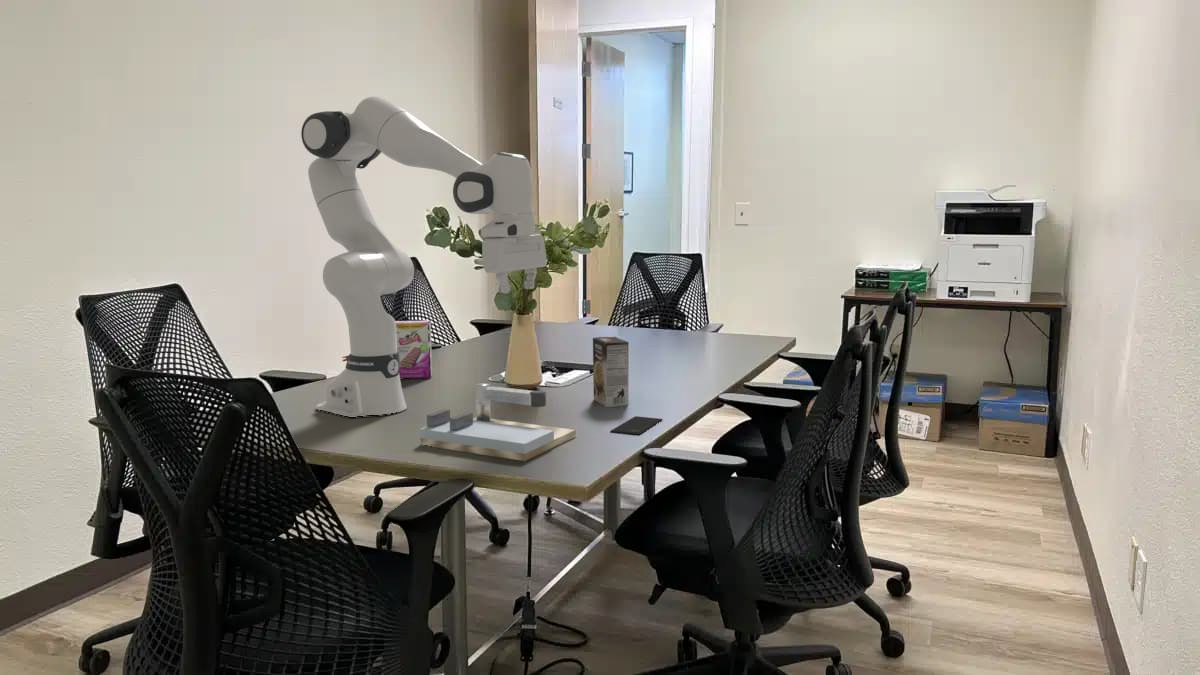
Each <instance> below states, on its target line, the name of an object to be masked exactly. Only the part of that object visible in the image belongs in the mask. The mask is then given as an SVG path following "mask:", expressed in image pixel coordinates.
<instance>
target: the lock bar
mask: <svg viewBox="0 0 1200 675" xmlns="http://www.w3.org/2000/svg"><path fill="white" fill-rule="evenodd" d="M490 385H491V384H490V383H488V382H487V383H483V382H482V383H477V384H475V385H474V387H475V388H474V390H475V391H474V392H475V393H474V394H475V418H476V420H477V421H485V422H489V421H491V419H492V418H491V417H492V416H491V402H499V403H507V404H508V403H509V404H514V405H521V406H522V405H524V406H530V407H532V408H542V407H545V406H547V398H546V397H547V396H546V394H547V392H546V391H545V390H529V389H521V388H520V389H519V388H513V387H512V388H511V387H510V388H509V387H502V386H490Z"/></svg>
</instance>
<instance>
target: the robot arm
mask: <svg viewBox="0 0 1200 675" xmlns="http://www.w3.org/2000/svg"><path fill="white" fill-rule="evenodd" d="M300 134H301V136H300V137H301V141H302V144H303V146H304V148H305V149H306V151H308V152H309V153H310V154H311V155H313V156H315V157H317V158H315V159H314V160H313V161H312V162H311V163H310V165H309V166H308V170H307V173H308V174H307V175H308V180H309V184H310V188H311V191H312V195H313V199H314V201H315V204H316V207H317V209H318V212H319V214H320V216H321V220H322V222H323V224H324V226H325V229H326V231H327V234H328V235H329V237H330V238H331V239H332V240H333V241H335V242H336V243H338V244H339V245H341V246H342V247H343V248H345V250H347V252H344V253H341V254H338V255H335V256H334V257H331V258H329V259H328V261H326V263H325V265H324V266H323V269H322V280H323V284H324V287H325V289H326V290H327V291H328V293H329V294H330V295H331V296H333V297H334V298H335V299H336V300H337V301H338V302H339V304H340V306H341V308H342V309H343V313H344V315H345V318H346V321H347V325H348V326H347V327H348V334H349V336H348V337H349V348H350V353H349V354H348V355H345V356H342V357H341V358H342V360H341V361H342V362H346V364H345V369H344V370H342V371H341V372H340V373H339V374H338V375H337V376H336V377H334V378H333V379H332V380H331V381H330V382H329V383H328V384H327V386H326V390H325V400H324V401H322V402H320V403H317V404H316V406H315V409H316V408H319V409H323V410H327V411H330V412H335V413H339V414H343V415H347V416H361V415H379V416H383V415H382V414H387V415H392V414H391V413H393V414H396V412H397V413H400V412H403V411H404V410H406V409H407V407H408V406H407V404H406V400H405V397H404V396H405V395H404V392H403V388H402V382H401V379H400V375H399V367H400V356H399V352H398V351H397V334H396V322H395V321H396V320H395V318H394V316H392V315H391V314H389V313H388V312H387V311H386V309H385V308H384V305H383V302H382V298H381V296H382V295H388V294H394V293H396V292H399V291H401V290H403V289H405V288H407V287H408V286H410V285H411V283H412V282H413V279H414V275H415V266H414V264H413V261H412V259H411V257H410V256H409V255H408V254H407V253H405V252H404V251H402V250H401V249H399V248H398V247H396V246H395V245H394V244H393V242H392V241H391V240H390V239H389V238H388V237H387V236H386V234H385V233H384V232H383V230H382V229H381V228H380V226H379V225H378V224H377V222H376V220H375V218H374V217H373V215H372V212H371V210H370V208H369V205H368V202H367V201H366V199H365V196H364V194H363V190H362V189H361V187H360V185H359V182H358V180H357V176H356V171H357V169H365V168H366V167H367V166H368V165H369V164H370V163H371V162H372V161H374V160H375V159H376V158H378V156H379V155H380V154H381V153H382V154H383V155H385V156H386V157H387V158H389V159H391V160H393V161H395V162H397V163H400V164H402V165H404V166H408V167H412V168H422V169H428V170H433V171H434V170H435V171H439V172H442V173H446V174H447V175H449V176H452V177H453V178H455V181H454V183H453V187H452V195H453V200H454V203H455V205H456V206H457V207H458V208H459V209H460V211H462V212H463V213H468V214H471V215H491V214H493V220H491V221H490V222H489V223H488V224H486V225H484V226H482V227H481V229H480V236H481V238H483V241H482V245H481V249H482V250H481V252H482V253H481V254H482V255H481V256H482V266H483V269H484V271H485V272H486V274H495V275H496V276H495V278H496V280H497V282H498V283H499V288H500V293H501V294H509V293H511V291H512V285H511V284H509V281H508V278H507V277H509V272H515V271H522V270H525V273H526V279H525V280H524V281H523V285H524V286H523V287H524V289H525V290H532V289H534V288H535V279H536V277H537V274H538V272H537V268H542V267H543V268H544V267H546V264H547V251H546V250H547V249H546V245H545V244H546V243H545V240H544V237H543V235H542V232H541V231H540V230H539V228H538V226H536V225H535V223H536V222H535V210H534V206H533V203H532V202H533V196H534V187H533V186H534V185H533V175H532V169H531V165H530V162H529V160H528V158H527V157H526V156H525V155H522V154H518V153H517V154H516V153H509V152H501V151H500V152H496V153H494V154H492V156H491V157H490V159H488V160H487V161H486V162H481V161H480V160H479V159H477V158H475V157H474V156H472V155H470V154H469V153H467V152H466V151H464V150H463V149H461V148H459V147H457V146H456V145H454V144H452V143H451V142H450V141H448V140H447V139H446V138H445V137H442V136H441V135H440V134H438V133H437V132H435V131H434V130H432V129H431V128H430V127H429V126H427V125H426V124H425V123H424V122H422V121H421V120H420V119H418V118H417V117H416V116H415V115H413V114H411V113H410V112H409V111H407V110H405V109H404V108H403V107H401V106H399V105H397V104H395V103H394V102H391V101H389V100H386V99H384V98H383V97H379V96H367V97H366V98H363V99H362V100H361V101H360V102H359V103H358V104H357V106H356V107H355V110H354V111H353V112H352V113H348V112H343V111H341V110H339V111H338V110H336V111H331V110H327V111H320V112H315V113H313V114H310V115H309V116H308V117H306V119H305V120H304V122H303V124H302V126H301V131H300Z"/></svg>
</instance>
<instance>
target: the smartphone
mask: <svg viewBox="0 0 1200 675" xmlns="http://www.w3.org/2000/svg"><path fill="white" fill-rule="evenodd" d="M662 420H663V418H657V417H647V416H633V417H631V418H630V419H628V420H626V421H624V422H623V423H621V424H619V425H617V427H614V428H612V429H610V432H609V433H611V434H619V435H629V436H636V435H637V436H638V437H639V436H641V435H643V434H644V433H646V432H647V430H648V431H649V430H651V429H652V428H653V426H654V427H655V426H657V425H658V424H660V423H661V422H663V421H664V420H663V421H662ZM659 422H660V423H659ZM657 423H658V424H657ZM656 424H657V425H656ZM650 428H651V429H650Z"/></svg>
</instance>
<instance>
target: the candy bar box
mask: <svg viewBox="0 0 1200 675" xmlns="http://www.w3.org/2000/svg"><path fill="white" fill-rule="evenodd" d="M395 322H396V334H397V351H398V352H399V356H400V367H399V375H400V378H404V379H403V380H406V379H405V378H409V379H408V380H411V379H410V378H414V379H413V380H416V379H415V378H418V379H419V380H421V379H420V378H425V379H431V378H432V376H433V357H432V354H433V353H432V350H433V349H432V325H431V324H432V323H431V320H395ZM418 379H417V380H418Z"/></svg>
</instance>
